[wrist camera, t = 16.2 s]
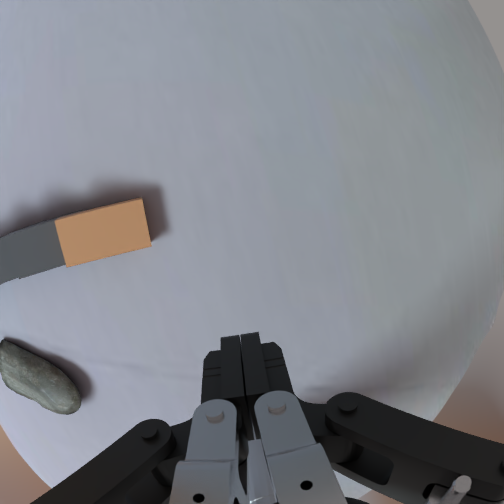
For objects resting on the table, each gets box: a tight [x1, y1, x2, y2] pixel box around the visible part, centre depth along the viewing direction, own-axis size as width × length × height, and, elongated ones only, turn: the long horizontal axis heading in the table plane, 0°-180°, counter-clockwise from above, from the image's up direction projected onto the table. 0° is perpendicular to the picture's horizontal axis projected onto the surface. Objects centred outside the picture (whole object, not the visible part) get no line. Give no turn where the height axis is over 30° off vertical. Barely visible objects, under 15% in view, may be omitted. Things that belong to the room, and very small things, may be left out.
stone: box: [0, 339, 81, 415], centre depth 37 cm, size 11×4×15 cm
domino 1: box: [0, 220, 47, 284], centre depth 30 cm, size 2×5×10 cm
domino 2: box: [6, 210, 83, 279], centre depth 30 cm, size 2×5×10 cm
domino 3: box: [55, 197, 152, 267], centre depth 31 cm, size 2×5×10 cm
